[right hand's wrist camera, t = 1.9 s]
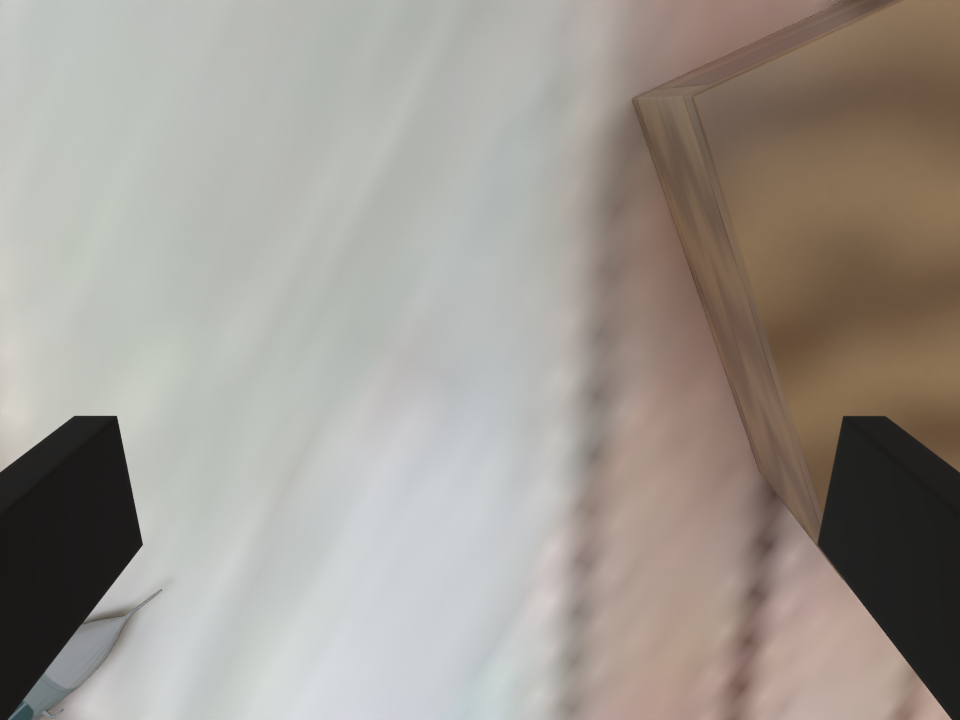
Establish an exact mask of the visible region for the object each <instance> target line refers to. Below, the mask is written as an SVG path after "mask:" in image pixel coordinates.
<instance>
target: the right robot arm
mask: <svg viewBox="0 0 960 720" xmlns="http://www.w3.org/2000/svg"><path fill="white" fill-rule="evenodd" d="M142 545H143V543H142V538H141V533H140V528H139V523H138V518H137V513H136V508H135V503H134V498H133V493H132V488H131V484H130V479H129V474H128V469H127V464H126V459H125V454H124V449H123V444H122V439H121V434H120V429H119V424H118V419H117V416H74V417H72V418H71V419H70V420H68V421H67V422H66V423H65V424H63V425H62V426H61V427H59V428H58V429H57V430H55V431H54V432H53V433H51V434H50V435H49V436H47V437H46V438H45V439H44V440H42V441H41V442H40V443H38V444H37V445H36V446H34V447H33V448H32V449H30V450H29V451H28V452H26V453H25V454H24V455H22V456H21V457H20V458H19V459H17V460H16V461H15V462H13V463H12V464H11V465H9V466H8V467H7V468H5V469H4V470H3V471H1V472H0V720H8V719H9V718H10V716H11V715H12V714H13V713H14V711H15V710H16V709H17V707H18V706H19V705H20V704H21V702H22V701H23V700H24V698H25V697H26V696H27V694H28V693H29V692H30V691H31V689H32V688H33V687H34V685H35V684H36V683H37V681H38V680H39V679H40V678H41V676H42V675H43V674H44V672H45V671H46V670H47V668H48V667H49V666H50V665H51V663H52V662H53V661H54V659H55V658H56V657H57V656H58V654H59V653H60V652H61V650H62V649H63V648H64V646H65V645H66V644H67V643H68V641H69V640H70V639H71V637H72V636H73V635H74V633H75V632H76V631H77V630H78V628H79V627H80V626H81V624H82V623H83V622H84V621H85V619H86V618H87V617H88V615H89V614H90V613H91V611H92V610H93V609H94V608H95V606H96V605H97V604H98V602H99V601H100V600H101V598H102V597H103V596H104V595H105V593H106V592H107V591H108V589H109V588H110V587H111V585H112V584H113V583H114V582H115V580H116V579H117V578H118V576H119V575H120V574H121V573H122V571H123V570H124V569H125V567H126V566H127V565H128V563H129V562H130V561H131V560H132V558H133V557H134V556H135V554H136V553H137V552H138V550H139V549H140V548H141V547H142ZM817 545H818V547H819V548H820V549H821V550H822V552H823V553H824V554H825V556H826V557H827V558H828V560H829V561H830V562H831V563H832V565H833V566H834V567H835V569H836V570H837V571H838V573H839V574H840V575H841V576H842V578H843V579H844V580H845V582H846V583H847V584H848V585H849V587H850V588H851V589H852V591H853V592H854V593H855V595H856V596H857V597H858V598H859V600H860V601H861V602H862V604H863V605H864V606H865V608H866V609H867V610H868V611H869V613H870V614H871V615H872V617H873V618H874V619H875V621H876V622H877V623H878V624H879V626H880V627H881V628H882V630H883V631H884V632H885V633H886V635H887V636H888V637H889V639H890V640H891V641H892V643H893V644H894V645H895V646H896V648H897V649H898V650H899V652H900V653H901V654H902V656H903V657H904V658H905V659H906V661H907V662H908V663H909V665H910V666H911V667H912V668H913V670H914V671H915V672H916V674H917V675H918V676H919V678H920V679H921V680H922V681H923V683H924V684H925V685H926V687H927V688H928V689H929V691H930V692H931V693H932V694H933V696H934V697H935V698H936V700H937V701H938V702H939V704H940V705H941V706H942V707H943V709H944V710H945V711H946V713H947V714H948V715H949V716H950V718H951V719H952V720H960V472H959V471H957V470H956V469H955V468H953V467H952V466H951V465H949V464H948V463H947V462H945V461H944V460H943V459H941V458H940V457H939V456H938V455H936V454H935V453H934V452H932V451H931V450H930V449H928V448H927V447H926V446H924V445H923V444H922V443H920V442H919V441H918V440H916V439H915V438H914V437H913V436H911V435H910V434H909V433H907V432H906V431H905V430H903V429H902V428H901V427H899V426H898V425H897V424H895V423H894V422H893V421H892V420H890V419H889V418H888V417H886V416H843V419H842V424H841V429H840V434H839V439H838V444H837V449H836V454H835V459H834V464H833V469H832V474H831V479H830V484H829V488H828V493H827V498H826V503H825V508H824V513H823V518H822V523H821V528H820V533H819V538H818V543H817Z"/></svg>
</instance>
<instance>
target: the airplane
mask: <svg viewBox="0 0 960 720" xmlns="http://www.w3.org/2000/svg"><path fill="white" fill-rule="evenodd" d="M161 591H162V589H161V590H159V591H158V592H156V593H155V594H154V595H152V596H151V597H149V598H148V599H147V600H145V601H144V602H143V603H141V604H140V605H139V606H138V607H136V608H135V609H134V610H132V611H131V612H129V613H128V614H126V615H125V616H121V617H115V618H109V619H103V620H97V621H93V622H90V623H86V624H82V625H81V626H80V627H79V628H78V630H77V631H76V632H75V633H74V635H73V636H72V637H71V639H70V640H69V641H68V643H67V644H66V645H65V646H64V648H63V649H62V650H61V652H60V653H59V654H58V656H57V657H56V658H55V659H54V661H53V662H52V663H51V665H50V666H49V667H48V668H47V670H46V671H45V672H44V674H43V675H42V676H41V678H40V679H39V680H38V681H37V683H36V684H35V685H34V687H33V688H32V689H31V691H30V692H29V693H28V694H27V696H26V697H25V698H24V700H23V701H22V702H21V704H20V705H19V706H18V707H17V709H16V710H15V711H14V713H13V714H12V715H11V716H10V718H9V719H8V720H38V719H39V718H41V717H42V716H43V715H45V716H47V717H49V718H54V717H56V716H57V715H58V714H59V713H61V712H62V711H63V710H64V709H62V710H61V711H59V712H58V713H57V714H55V715H54V716H52V715H51V714H49V713H48V711H49V710H50V709H51V708H52V707H54V706H55V705H56V704H57V703H59V702H60V701H61V700H63V699H64V698H65V697H66V696H68V695H69V694H70V693H72V692H73V691H74V690H75V689H77V688H78V687H79V686H81V685H82V684H83V683H84V682H85V681H86V680H87V679H88V678H89V677H90V676H91V675H92V674H93V673H94V672H95V671H96V670H97V669H98V668H99V666H100V665H101V664H102V663H103V661H104V660H105V659H106V658H107V656H108V654H109V652H110V651H111V649H112V647H113V645H114V643H115V642H116V640H117V637H118V635H119V633H120V631H121V629H122V627H123V625H124V623H125V622H126V620H127V619H128V618H129V617H130V616H131V615H132V614H133V613H134V612H136V611H137V610H138V609H140V608H141V607H142V606H144V605H145V604H146V603H147V602H149V601H150V600H151V599H153V598H154V597H155V596H156V595H158V594H159V593H160V592H161Z"/></svg>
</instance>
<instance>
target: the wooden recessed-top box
mask: <svg viewBox="0 0 960 720" xmlns="http://www.w3.org/2000/svg"><path fill="white" fill-rule="evenodd" d="M633 103H634V106H635V109H636V112H637V115H638V118H639V121H640V124H641V127H642V130H643V132H644V135H645V138H646V141H647V144H648V147H649V150H650V153H651V156H652V159H653V162H654V165H655V167H656V170H657V173H658V176H659V179H660V182H661V185H662V188H663V191H664V194H665V197H666V200H667V203H668V205H669V208H670V211H671V214H672V217H673V220H674V223H675V226H676V229H677V232H678V235H679V238H680V241H681V243H682V246H683V249H684V252H685V255H686V258H687V261H688V264H689V267H690V270H691V273H692V276H693V279H694V281H695V284H696V287H697V290H698V293H699V296H700V299H701V302H702V305H703V308H704V311H705V314H706V317H707V319H708V322H709V325H710V328H711V331H712V334H713V337H714V340H715V343H716V346H717V349H718V352H719V355H720V357H721V360H722V363H723V366H724V369H725V372H726V375H727V378H728V381H729V384H730V387H731V390H732V393H733V395H734V398H735V401H736V404H737V407H738V410H739V413H740V416H741V419H742V422H743V425H744V428H745V431H746V433H747V436H748V439H749V442H750V445H751V448H752V451H753V454H754V457H755V460H756V463H757V466H758V469H759V471H760V473H761V474H762V475H763V476H764V478H765V479H766V480H767V482H768V483H769V484H770V486H771V487H772V488H773V490H774V491H775V492H776V494H777V495H778V496H779V497H780V499H781V500H782V501H783V503H784V504H785V505H786V507H787V508H788V509H789V510H790V512H791V513H792V514H793V516H794V517H795V518H796V520H797V521H798V522H799V524H800V525H801V526H802V527H803V529H804V530H805V531H806V533H807V534H808V535H809V537H810V538H811V539H812V541H813V542H814V543H815V544H816V546H817V547H818V545H817V543H818V538H819V533H820V528H821V523H822V518H823V513H824V508H825V503H826V498H827V493H828V488H829V484H830V479H831V474H832V469H833V464H834V459H835V454H836V449H837V444H838V439H839V434H840V429H841V424H842V419H843V416H886V417H888V418H889V419H890V420H892V421H893V422H894V423H895V424H897V425H898V426H899V427H901V428H902V429H903V430H905V431H906V432H907V433H909V434H910V435H911V436H913V437H914V438H915V439H916V440H918V441H919V442H920V443H922V444H923V445H924V446H926V447H927V448H928V449H930V450H931V451H932V452H934V453H935V454H936V455H938V456H939V457H940V458H941V459H943V460H944V461H945V462H947V463H948V464H949V465H951V466H952V467H953V468H955V469H956V470H957V471H959V472H960V0H846V1H843V2H841V3H839V4H837V5H835V6H833V7H830V8H828V9H826V10H824V11H822V12H820V13H817V14H815V15H813V16H811V17H809V18H806V19H804V20H802V21H800V22H798V23H796V24H793V25H791V26H789V27H787V28H785V29H782V30H780V31H778V32H776V33H774V34H772V35H769V36H767V37H765V38H763V39H761V40H759V41H756V42H754V43H752V44H750V45H748V46H745V47H743V48H741V49H739V50H737V51H735V52H732V53H730V54H728V55H726V56H724V57H721V58H719V59H717V60H715V61H713V62H711V63H708V64H706V65H704V66H702V67H700V68H698V69H695V70H693V71H691V72H689V73H687V74H684V75H682V76H680V77H678V78H676V79H674V80H671V81H669V82H667V83H665V84H663V85H660V86H658V87H656V88H654V89H652V90H650V91H647V92H645V93H643V94H641V95H639V96H637V97H634V98H633ZM818 548H819V547H818ZM819 550H820V551H821V552H822V550H821V549H820V548H819ZM822 554H823V555H824V556H825V554H824V553H823V552H822ZM825 557H826V556H825ZM826 559H827V560H828V558H827V557H826ZM828 561H829V560H828ZM829 563H830V564H831V565H832V563H831V562H830V561H829ZM832 566H833V565H832ZM833 568H834V569H835V567H834V566H833ZM835 570H836V569H835ZM836 572H837V573H838V571H837V570H836ZM838 574H839V573H838ZM839 576H840V577H841V578H842V576H841V575H840V574H839ZM842 579H843V578H842ZM843 580H844V579H843Z"/></svg>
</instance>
